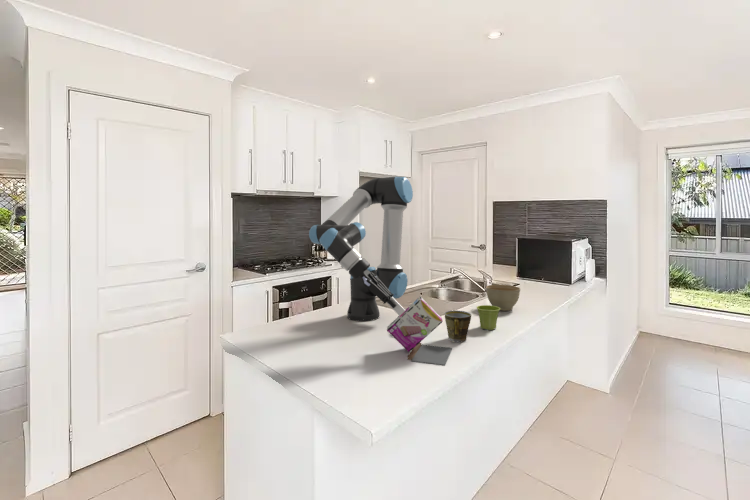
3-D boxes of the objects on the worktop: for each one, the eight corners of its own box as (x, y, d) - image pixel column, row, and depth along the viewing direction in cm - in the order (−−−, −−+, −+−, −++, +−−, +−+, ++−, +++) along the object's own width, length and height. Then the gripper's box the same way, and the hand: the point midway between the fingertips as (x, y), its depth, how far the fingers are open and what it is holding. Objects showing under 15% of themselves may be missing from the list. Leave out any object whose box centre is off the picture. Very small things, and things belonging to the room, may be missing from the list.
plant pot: (473, 325, 162) (473, 305, 162) (494, 324, 163) (494, 304, 162) (481, 331, 153) (481, 310, 152) (503, 331, 154) (504, 310, 153)
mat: (411, 361, 123) (411, 360, 123) (422, 345, 138) (422, 344, 138) (444, 365, 120) (444, 364, 120) (452, 348, 135) (452, 347, 135)
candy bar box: (386, 331, 130) (420, 298, 128) (386, 326, 135) (419, 295, 133) (409, 353, 131) (443, 321, 129) (408, 348, 136) (442, 317, 134)
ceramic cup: (445, 334, 151) (445, 309, 150) (471, 336, 148) (472, 311, 147) (441, 345, 138) (442, 318, 137) (470, 347, 135) (470, 320, 134)
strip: (407, 359, 125) (407, 356, 125) (417, 345, 138) (417, 342, 138) (411, 360, 124) (411, 356, 124) (421, 346, 137) (421, 342, 137)
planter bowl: (524, 312, 181) (525, 290, 180) (491, 313, 181) (491, 290, 180) (513, 304, 197) (513, 284, 196) (481, 305, 197) (482, 284, 196)
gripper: (353, 269, 140) (397, 315, 138) (342, 274, 128) (392, 325, 126) (366, 255, 139) (412, 301, 137) (357, 259, 126) (407, 310, 124)
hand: (402, 312), depth 131 cm, fingers closed
